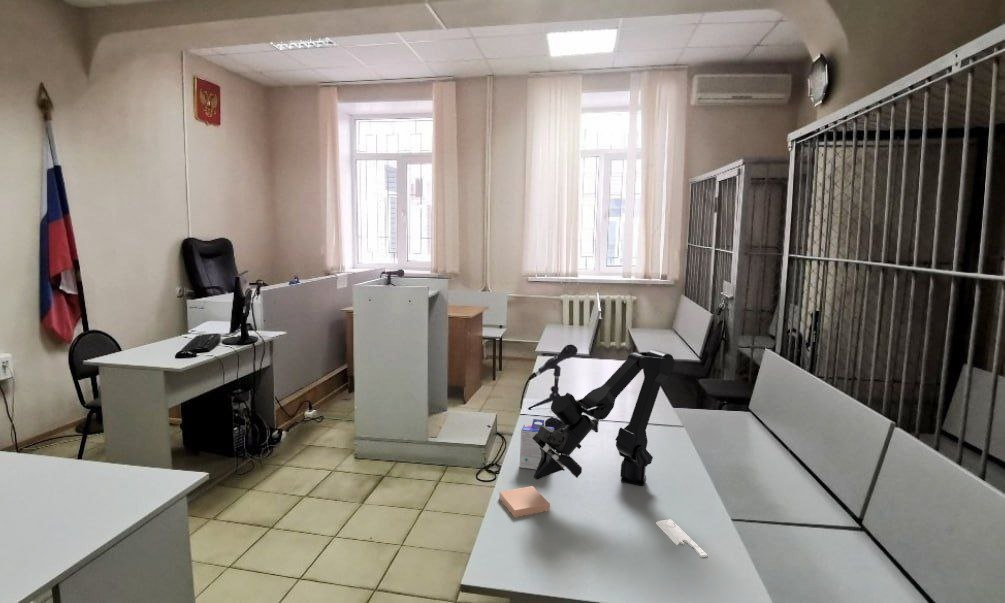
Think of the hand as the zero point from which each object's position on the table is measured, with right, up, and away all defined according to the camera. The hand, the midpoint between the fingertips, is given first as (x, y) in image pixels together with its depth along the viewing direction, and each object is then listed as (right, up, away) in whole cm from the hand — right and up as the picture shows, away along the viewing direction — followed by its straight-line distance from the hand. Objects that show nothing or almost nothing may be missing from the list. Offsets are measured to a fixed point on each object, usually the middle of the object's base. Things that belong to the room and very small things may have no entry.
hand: (535, 478), depth 140 cm
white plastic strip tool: (+34, -10, -14) cm, 38 cm away
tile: (+2, -6, +2) cm, 6 cm away
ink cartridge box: (+2, -4, +23) cm, 23 cm away
